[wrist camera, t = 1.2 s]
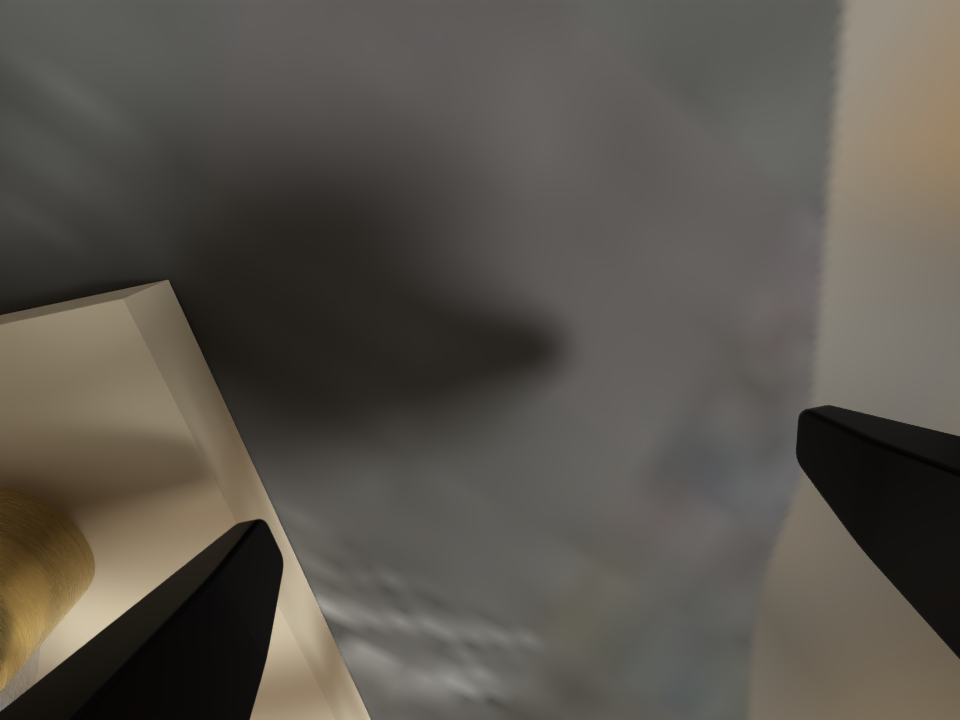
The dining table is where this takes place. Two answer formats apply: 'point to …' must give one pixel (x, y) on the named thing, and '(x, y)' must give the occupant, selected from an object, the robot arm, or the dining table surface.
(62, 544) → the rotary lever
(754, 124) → the dining table surface
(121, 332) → the board
